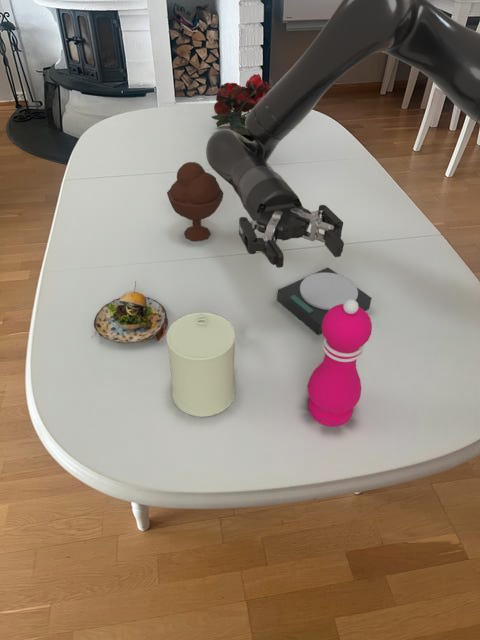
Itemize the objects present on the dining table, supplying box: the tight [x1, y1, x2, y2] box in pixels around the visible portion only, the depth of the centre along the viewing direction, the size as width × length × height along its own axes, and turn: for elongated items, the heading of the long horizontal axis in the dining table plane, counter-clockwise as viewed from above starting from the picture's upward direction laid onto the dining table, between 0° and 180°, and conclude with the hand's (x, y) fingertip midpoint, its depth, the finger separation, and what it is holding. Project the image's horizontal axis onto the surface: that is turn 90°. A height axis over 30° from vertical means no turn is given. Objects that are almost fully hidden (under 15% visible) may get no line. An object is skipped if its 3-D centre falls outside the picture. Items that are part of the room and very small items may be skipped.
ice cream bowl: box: [166, 161, 225, 242], centre depth 103 cm, size 11×11×15 cm
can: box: [166, 312, 236, 418], centre depth 72 cm, size 9×9×12 cm
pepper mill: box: [307, 299, 373, 427], centre depth 67 cm, size 7×7×20 cm
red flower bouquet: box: [211, 73, 270, 141], centre depth 141 cm, size 16×18×35 cm
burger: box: [93, 281, 169, 344], centre depth 84 cm, size 12×12×8 cm
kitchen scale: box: [276, 266, 372, 336], centre depth 91 cm, size 12×11×3 cm
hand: (310, 256), depth 69 cm, fingers open, 8 cm apart
